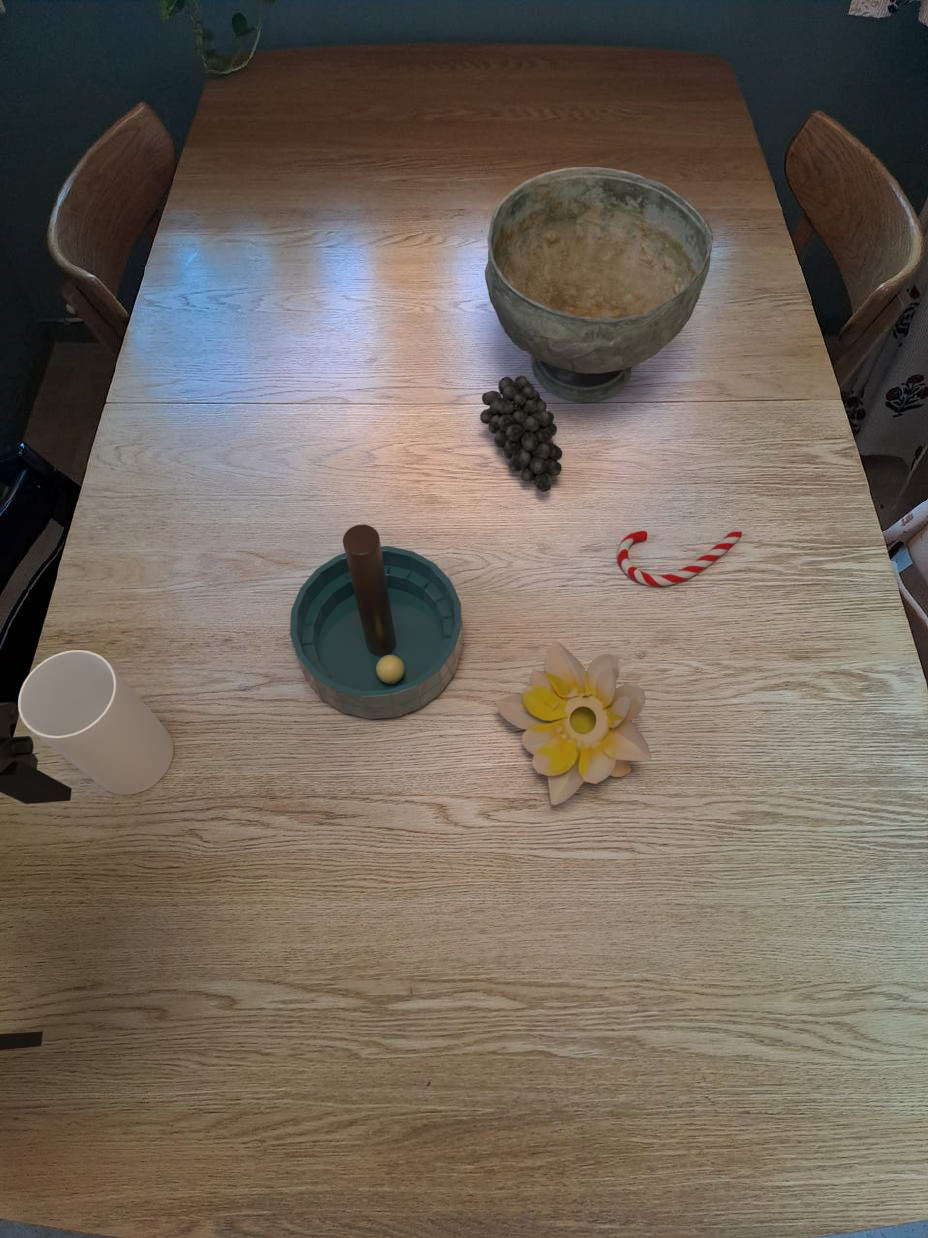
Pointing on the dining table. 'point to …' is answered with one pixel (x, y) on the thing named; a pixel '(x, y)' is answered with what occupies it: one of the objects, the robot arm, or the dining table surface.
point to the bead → (390, 669)
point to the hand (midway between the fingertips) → (34, 911)
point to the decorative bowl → (594, 274)
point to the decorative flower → (578, 721)
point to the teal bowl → (339, 647)
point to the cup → (96, 722)
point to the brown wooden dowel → (370, 588)
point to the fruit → (512, 419)
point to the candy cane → (676, 576)
